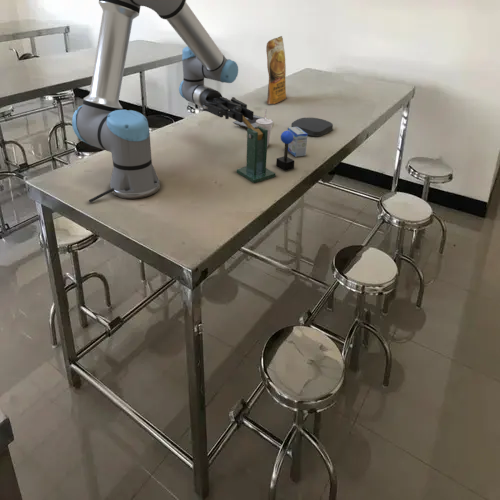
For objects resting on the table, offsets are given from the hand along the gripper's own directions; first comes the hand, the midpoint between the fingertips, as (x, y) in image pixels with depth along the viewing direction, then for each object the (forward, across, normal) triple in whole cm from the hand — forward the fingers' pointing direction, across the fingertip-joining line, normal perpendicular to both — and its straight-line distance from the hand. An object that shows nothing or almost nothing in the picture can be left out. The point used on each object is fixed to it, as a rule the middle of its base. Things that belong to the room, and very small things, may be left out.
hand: (247, 117), depth 158 cm
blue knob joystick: (+7, -12, -18) cm, 23 cm away
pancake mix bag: (-56, -59, -19) cm, 84 cm away
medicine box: (-1, -24, -18) cm, 30 cm away
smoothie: (-13, -18, -18) cm, 29 cm away
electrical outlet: (-33, -28, -19) cm, 47 cm away
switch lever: (-1, 0, -4) cm, 4 cm away
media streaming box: (-16, -46, -19) cm, 52 cm away
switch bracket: (+6, 0, -18) cm, 19 cm away
